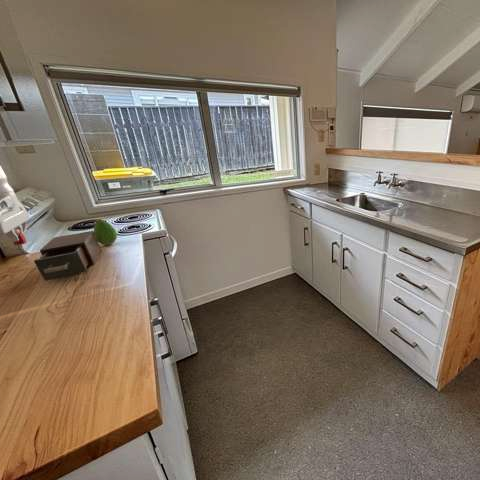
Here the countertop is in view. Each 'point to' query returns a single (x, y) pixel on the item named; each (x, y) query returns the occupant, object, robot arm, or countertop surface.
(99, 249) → the cabinet
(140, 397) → the countertop surface
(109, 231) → the avocado
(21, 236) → the doll
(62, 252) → the drawer
